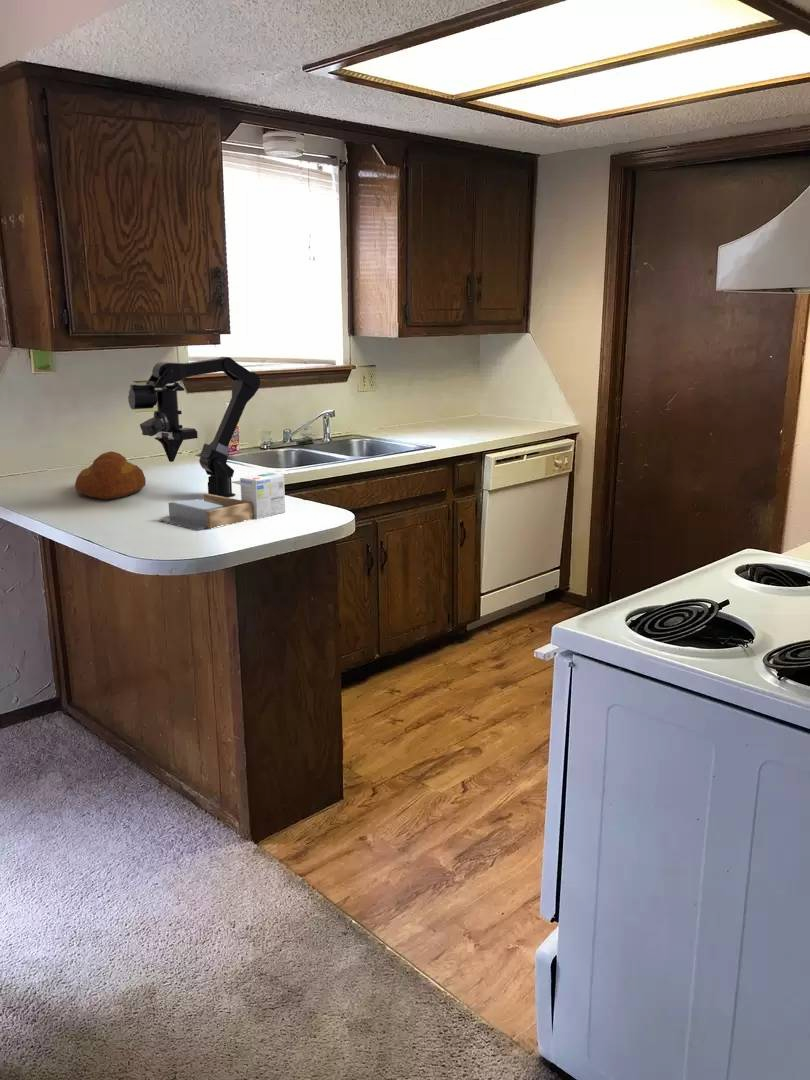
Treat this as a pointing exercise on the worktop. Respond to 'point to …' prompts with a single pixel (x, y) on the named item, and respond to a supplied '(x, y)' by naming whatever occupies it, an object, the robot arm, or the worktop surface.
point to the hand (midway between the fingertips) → (171, 461)
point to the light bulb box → (264, 493)
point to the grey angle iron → (187, 516)
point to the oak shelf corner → (227, 510)
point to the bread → (110, 477)
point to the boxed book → (201, 504)
